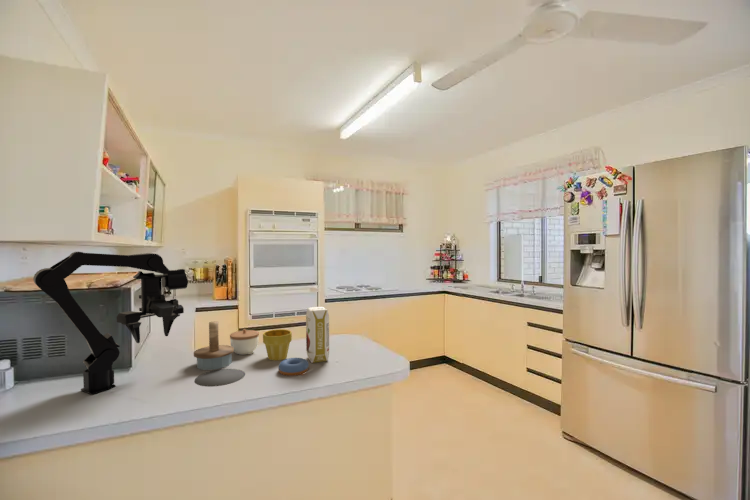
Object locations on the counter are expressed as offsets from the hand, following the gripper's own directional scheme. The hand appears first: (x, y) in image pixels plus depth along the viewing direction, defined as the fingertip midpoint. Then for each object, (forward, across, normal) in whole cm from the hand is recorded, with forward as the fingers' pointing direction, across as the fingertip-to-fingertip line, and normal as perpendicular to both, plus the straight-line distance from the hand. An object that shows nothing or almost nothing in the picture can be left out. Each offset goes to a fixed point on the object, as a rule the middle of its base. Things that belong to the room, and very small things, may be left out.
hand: (152, 339), depth 120 cm
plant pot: (+12, +32, -24) cm, 42 cm away
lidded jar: (+12, +31, -8) cm, 34 cm away
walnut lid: (+8, +16, -9) cm, 20 cm away
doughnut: (+12, +24, -38) cm, 47 cm away
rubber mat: (+12, +9, -21) cm, 26 cm away
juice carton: (+12, +38, -38) cm, 55 cm away
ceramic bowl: (+12, +16, -9) cm, 22 cm away
